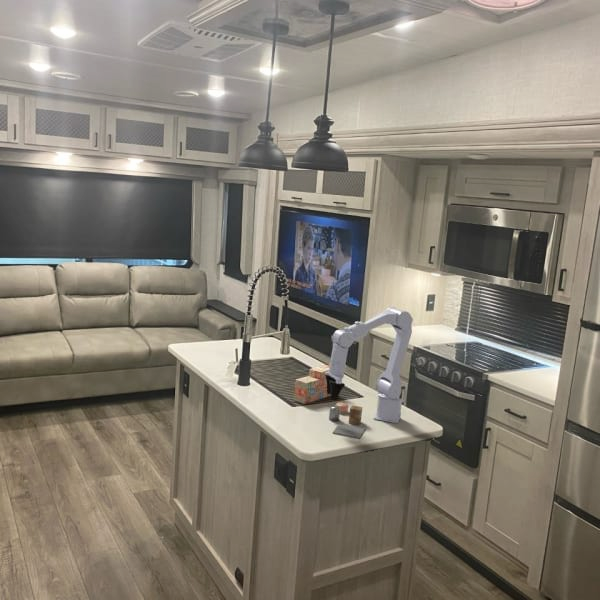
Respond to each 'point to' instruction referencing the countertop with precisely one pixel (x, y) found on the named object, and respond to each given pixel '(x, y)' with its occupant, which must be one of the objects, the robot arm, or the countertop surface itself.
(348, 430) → the slate mat
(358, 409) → the walnut block
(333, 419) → the shiny grey rounded piece
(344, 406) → the peach dome knob
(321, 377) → the stack of blocks
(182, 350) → the countertop surface
